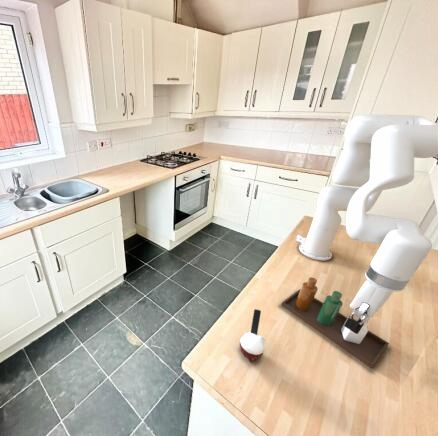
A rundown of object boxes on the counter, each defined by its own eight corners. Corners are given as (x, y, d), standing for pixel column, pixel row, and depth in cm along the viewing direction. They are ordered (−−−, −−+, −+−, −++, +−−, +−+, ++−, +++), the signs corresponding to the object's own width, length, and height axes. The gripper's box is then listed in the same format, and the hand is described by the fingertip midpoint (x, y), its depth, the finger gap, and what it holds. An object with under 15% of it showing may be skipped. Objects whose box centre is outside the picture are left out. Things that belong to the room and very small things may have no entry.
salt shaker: (343, 340, 71) (356, 319, 67) (339, 329, 74) (351, 308, 70) (360, 345, 70) (374, 323, 65) (355, 333, 73) (368, 312, 68)
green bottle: (313, 319, 78) (326, 292, 72) (320, 313, 80) (333, 286, 74) (328, 328, 75) (342, 301, 69) (334, 322, 77) (349, 295, 71)
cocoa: (254, 372, 64) (263, 343, 59) (232, 356, 68) (239, 328, 63) (267, 347, 70) (277, 319, 65) (247, 334, 74) (254, 306, 68)
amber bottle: (292, 304, 83) (302, 278, 77) (299, 299, 85) (309, 273, 79) (305, 313, 80) (316, 286, 74) (311, 307, 82) (323, 281, 76)
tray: (280, 306, 83) (282, 302, 82) (298, 293, 88) (300, 288, 87) (370, 369, 64) (373, 365, 63) (386, 347, 70) (389, 343, 69)
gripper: (381, 256, 67) (356, 299, 76) (353, 281, 59) (329, 326, 68) (417, 271, 62) (386, 316, 70) (392, 301, 54) (361, 347, 62)
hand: (358, 321), depth 69 cm, fingers open, 9 cm apart
